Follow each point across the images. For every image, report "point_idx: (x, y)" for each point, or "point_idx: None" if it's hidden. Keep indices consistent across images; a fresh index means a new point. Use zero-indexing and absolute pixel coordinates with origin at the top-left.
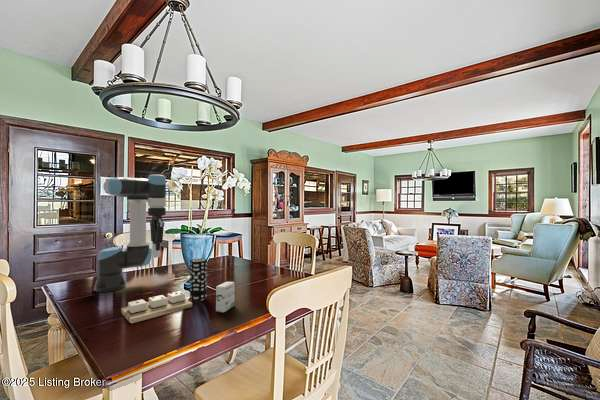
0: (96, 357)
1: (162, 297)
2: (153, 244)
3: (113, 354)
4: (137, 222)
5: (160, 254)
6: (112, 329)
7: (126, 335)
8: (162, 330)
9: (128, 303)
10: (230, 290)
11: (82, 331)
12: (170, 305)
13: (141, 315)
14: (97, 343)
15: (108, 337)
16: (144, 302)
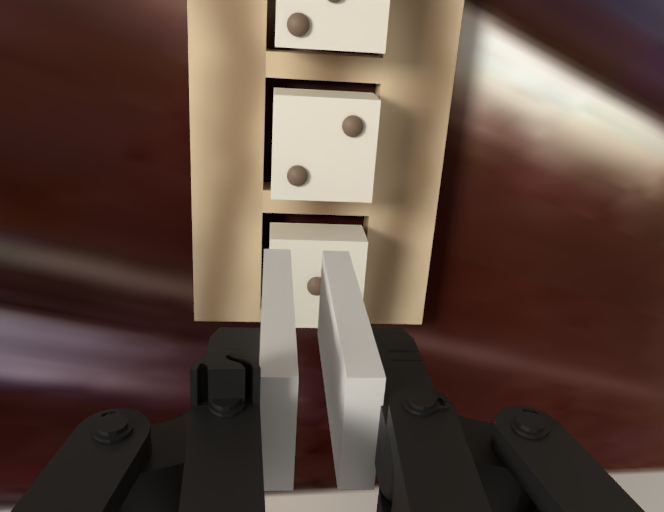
0: (624, 465)
1: (355, 125)
2: (290, 469)
3: (657, 423)
4: None
5: (353, 267)
6: None
7: (536, 356)
8: (634, 224)
9: None
10: None
11: (330, 473)
12: (394, 72)
13: (420, 270)
14: None
15: (490, 411)
16: (352, 252)
